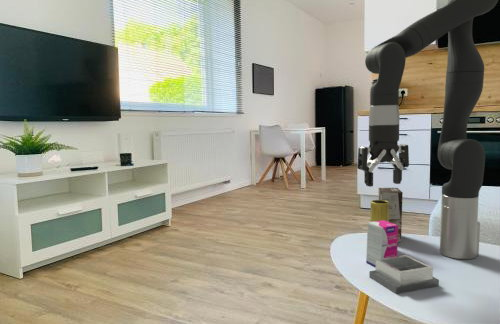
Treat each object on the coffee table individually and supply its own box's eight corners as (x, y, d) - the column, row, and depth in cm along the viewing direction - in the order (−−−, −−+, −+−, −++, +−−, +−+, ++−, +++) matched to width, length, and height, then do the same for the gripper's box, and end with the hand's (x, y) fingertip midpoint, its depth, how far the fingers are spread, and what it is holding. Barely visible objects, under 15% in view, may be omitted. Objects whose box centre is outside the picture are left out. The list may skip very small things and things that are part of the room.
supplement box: (380, 270, 101) (381, 227, 100) (365, 262, 107) (366, 222, 105) (397, 266, 104) (398, 224, 102) (382, 259, 109) (382, 219, 108)
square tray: (409, 270, 101) (409, 253, 100) (438, 285, 91) (439, 267, 91) (369, 277, 97) (369, 259, 97) (395, 293, 88) (396, 274, 87)
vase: (367, 243, 122) (367, 199, 121) (387, 244, 122) (388, 199, 120) (370, 250, 116) (371, 203, 115) (391, 251, 116) (392, 203, 114)
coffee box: (402, 242, 123) (403, 192, 121) (380, 241, 124) (381, 192, 123) (397, 234, 132) (398, 187, 130) (377, 233, 133) (378, 186, 132)
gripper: (397, 122, 107) (396, 180, 108) (352, 124, 102) (351, 184, 104) (416, 122, 100) (415, 185, 101) (369, 124, 95) (368, 189, 97)
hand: (383, 184), depth 103 cm, fingers open, 8 cm apart
